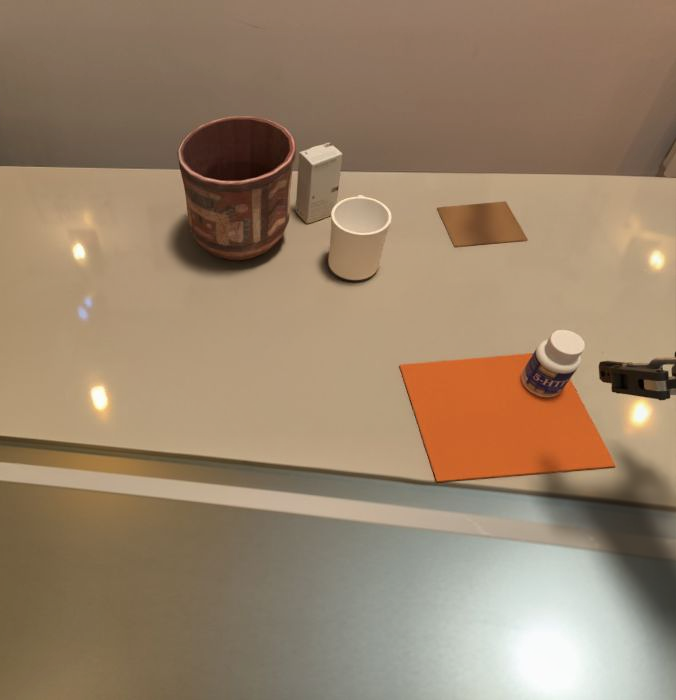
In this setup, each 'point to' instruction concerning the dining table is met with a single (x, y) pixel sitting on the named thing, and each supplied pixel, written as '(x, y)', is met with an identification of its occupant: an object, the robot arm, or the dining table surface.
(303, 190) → the cosmetic box
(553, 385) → the pill bottle
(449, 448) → the towel
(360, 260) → the mug
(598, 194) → the dining table surface
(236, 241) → the pottery
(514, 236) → the cork pad
